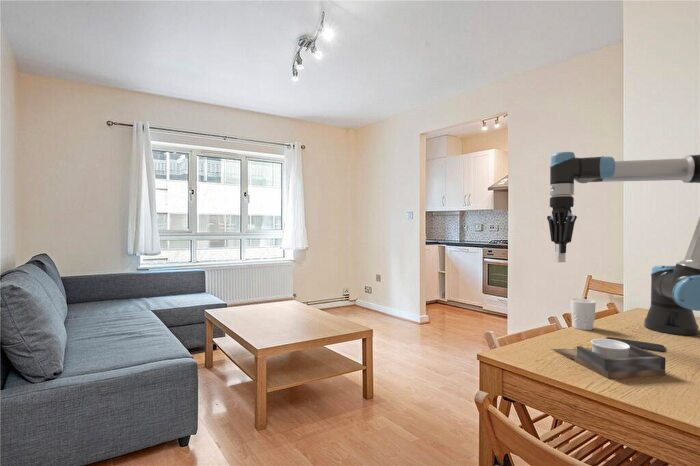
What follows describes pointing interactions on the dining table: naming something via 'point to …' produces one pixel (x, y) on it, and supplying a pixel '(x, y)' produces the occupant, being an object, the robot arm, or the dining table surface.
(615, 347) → the ramekin
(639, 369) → the dock
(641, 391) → the dining table surface
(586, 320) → the white cup
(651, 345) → the phone
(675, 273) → the robot arm
